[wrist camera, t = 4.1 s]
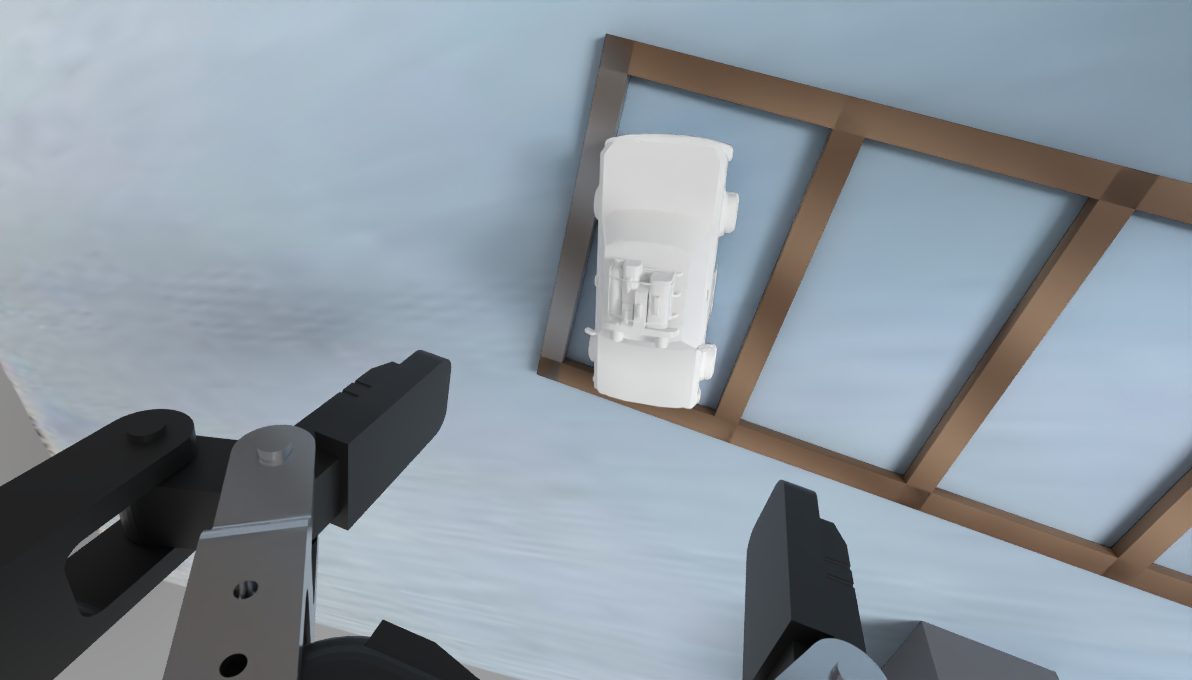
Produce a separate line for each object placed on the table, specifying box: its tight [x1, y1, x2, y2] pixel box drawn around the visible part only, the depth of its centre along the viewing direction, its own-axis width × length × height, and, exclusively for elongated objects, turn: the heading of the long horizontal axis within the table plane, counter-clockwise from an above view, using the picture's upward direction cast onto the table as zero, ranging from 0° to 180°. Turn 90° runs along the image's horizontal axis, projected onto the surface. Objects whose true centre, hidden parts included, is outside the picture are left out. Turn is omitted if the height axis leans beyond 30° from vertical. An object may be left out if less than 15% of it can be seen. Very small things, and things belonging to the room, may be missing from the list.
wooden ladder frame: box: [537, 34, 1192, 608], centre depth 23 cm, size 16×39×1 cm, turn 77°
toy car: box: [585, 133, 740, 409], centre depth 23 cm, size 6×12×7 cm, turn 178°
